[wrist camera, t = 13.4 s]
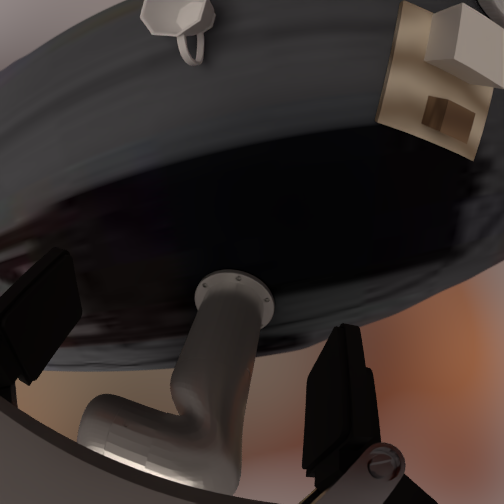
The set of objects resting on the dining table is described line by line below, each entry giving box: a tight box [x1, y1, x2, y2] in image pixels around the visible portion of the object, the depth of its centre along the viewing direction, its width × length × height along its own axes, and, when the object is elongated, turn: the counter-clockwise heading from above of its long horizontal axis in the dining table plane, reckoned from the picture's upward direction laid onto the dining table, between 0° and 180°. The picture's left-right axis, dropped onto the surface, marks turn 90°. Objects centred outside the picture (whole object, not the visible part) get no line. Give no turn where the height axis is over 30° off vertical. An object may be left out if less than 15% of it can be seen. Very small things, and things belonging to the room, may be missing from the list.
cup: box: [140, 0, 216, 66], centre depth 25 cm, size 7×10×8 cm
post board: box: [375, 0, 494, 161], centre depth 24 cm, size 16×14×7 cm
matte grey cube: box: [424, 3, 504, 89], centre depth 20 cm, size 7×7×8 cm
